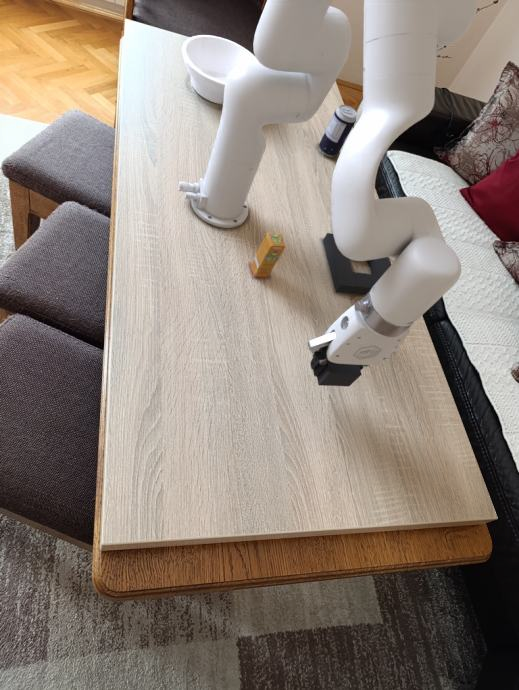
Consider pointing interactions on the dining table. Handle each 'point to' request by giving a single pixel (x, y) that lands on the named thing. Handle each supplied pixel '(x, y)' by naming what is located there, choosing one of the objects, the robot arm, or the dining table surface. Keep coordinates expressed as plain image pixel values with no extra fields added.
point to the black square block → (339, 374)
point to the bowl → (212, 63)
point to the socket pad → (344, 273)
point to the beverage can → (338, 130)
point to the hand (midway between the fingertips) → (332, 369)
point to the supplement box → (267, 255)
